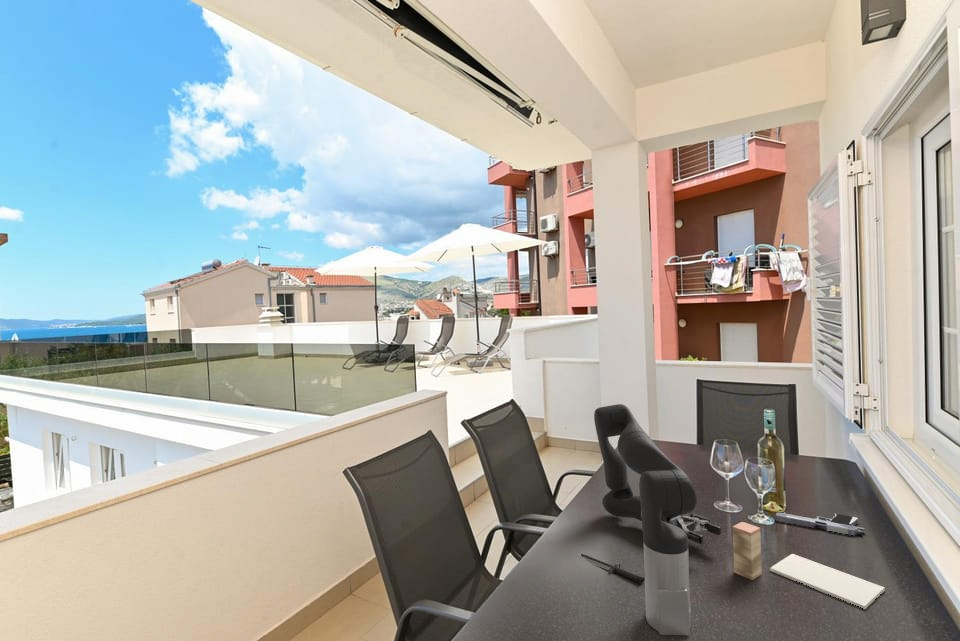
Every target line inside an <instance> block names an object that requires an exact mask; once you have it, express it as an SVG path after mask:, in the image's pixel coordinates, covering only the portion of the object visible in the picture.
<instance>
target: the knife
mask: <svg viewBox="0 0 960 641" xmlns="http://www.w3.org/2000/svg"><path fill="white" fill-rule="evenodd" d="M581 556H582V557H581ZM581 556H580V557H581V558H583V559H584V558H585V559H586V560H585V559H584V560H585V561H587V562H588V563H590V564H591V565H594V566H597V567H599V568H602V569H604V570H607V571H608V576H610V575H612V574H614V573H616V574H618V575H621V576H623V577H625V578H628V579H630V580H633V581H636V582H637V583H639V584H643V583H645V576H643V577H642V576H639V575H637V574H634V573H632V572H629V571H627V570H624V569H621V564H620V563H619V562H618V563H616V564H614V565H612V564H609V563H606V562H604V561H603V560H602V561H601V560H600V559H597V558H595V557H591V556H589V555H586V554H583V553H581Z"/></svg>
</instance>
